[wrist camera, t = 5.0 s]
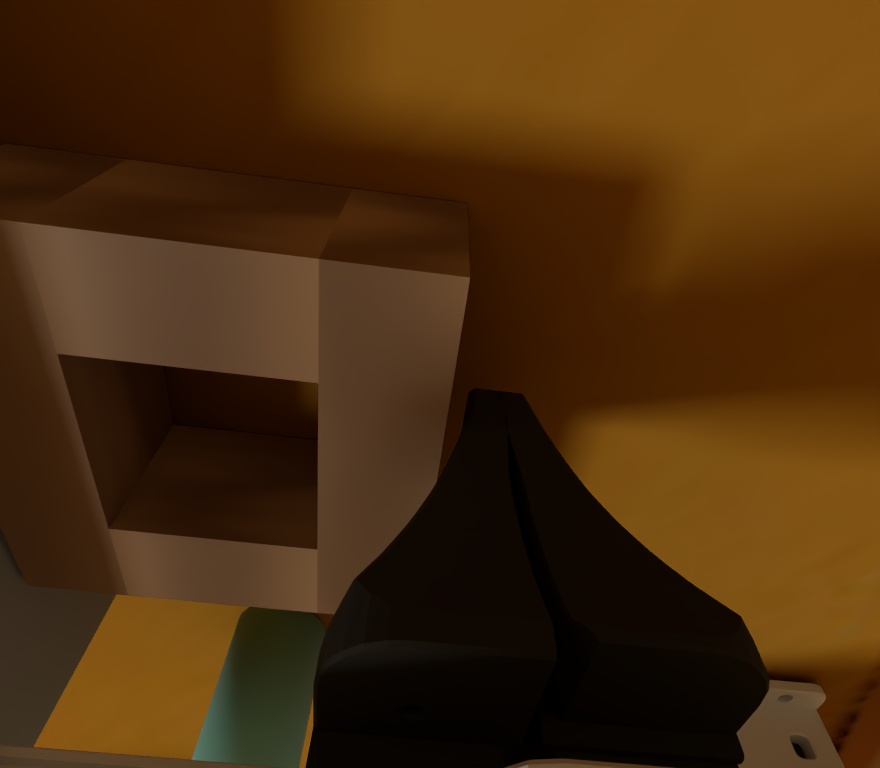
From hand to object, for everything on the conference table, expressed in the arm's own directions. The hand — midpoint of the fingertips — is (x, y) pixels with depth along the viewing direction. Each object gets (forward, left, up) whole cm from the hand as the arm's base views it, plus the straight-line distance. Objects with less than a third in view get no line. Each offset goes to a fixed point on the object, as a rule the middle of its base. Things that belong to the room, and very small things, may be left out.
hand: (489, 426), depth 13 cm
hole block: (+6, 0, -1) cm, 6 cm away
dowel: (+5, +11, -1) cm, 12 cm away
